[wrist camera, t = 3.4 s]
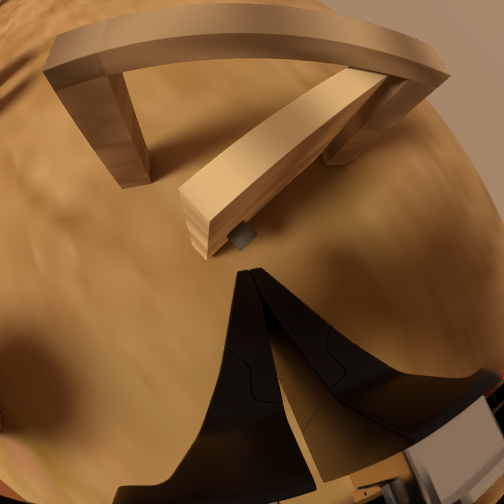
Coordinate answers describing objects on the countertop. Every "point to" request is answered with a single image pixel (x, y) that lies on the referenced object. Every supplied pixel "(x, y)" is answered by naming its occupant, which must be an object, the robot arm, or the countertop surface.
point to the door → (269, 160)
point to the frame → (227, 47)
